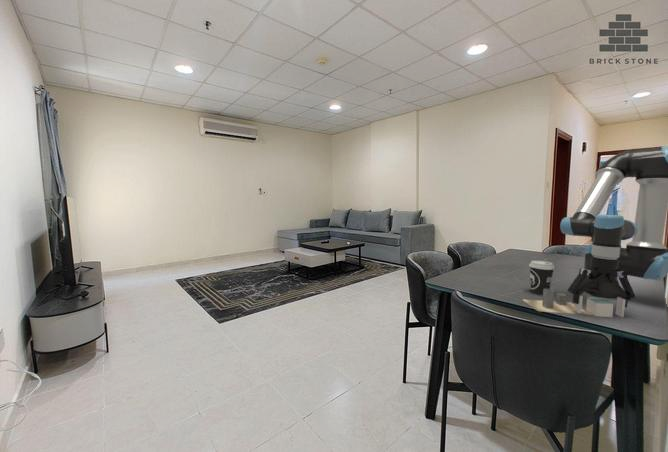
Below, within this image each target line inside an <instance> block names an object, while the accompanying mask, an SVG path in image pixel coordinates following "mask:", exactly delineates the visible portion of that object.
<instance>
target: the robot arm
mask: <svg viewBox="0 0 668 452" xmlns="http://www.w3.org/2000/svg"><path fill="white" fill-rule="evenodd" d="M594 177H595V179H594V180H593V182H592V184H591V185H590V188H589V189H588V191H587V192H586V194H585V195H584V197H583V200H581V202H580V203H579V205H578V207H577V209H576V210H575V212H574V214H573V215H572V216H568V217H567V216H566V217H562V219H561V221H560V224H559V225H560V226H559V228H560V231H561V233H562V234H564V235H567V236H572V237H586V238H592V242H591V243H590V244H588V245H586V247H585V253H584V266H583V268H580V269H579V272H578V274H577V276H576V277H575V279H573V282H572V283H571V284H570V286H569V287H568V289H567V292H568V293H571V294H573V295H572V302H573V303H572V304H574V305H575V307H574V311H576V312H577V313H580V314H579V315H582V314H581V309H583V308H582V306H583V295H582V294H584V293H587V294H589V295H591V296H595V297H599V298H609V299H610V298H612V299H616V306H615V307H616V308H615V315H617V316H618V317H621V318H624V316H625V309H626V308H627V307H628V302H629V301H630V300H632V299H635V298H636V294H635V292H634V290H633V287H632V286H631V283H630V281H629V279H628V276H629V277H634V278H639V279H640V278H642V279H643V280H654V281H659V280H663V279H664V278H665V277H666V276H667V275H668V247H667V246H665V245H664V243H663V242H664V241H663V240H664V232H665V226H666V219H667V214H668V146H659V147H649V148H641V149H629V150H625V151H621V152H619V153H617V154H615V155H613V156H612V157H610V158H609V159H607V160H606V161H605V162H603V164H601V166H600V167H599V168H598V169H597V170H596V172H595V175H594ZM626 178H635V182H636V183H637V184H638V185H639V189H638V196H637V197H638V198H637V203H636V211H635V217H634V222H633V221H632V220H628V219H625V218H624V216H622V215H621V214H620V215H619V214H616V215H615V214H601V212H602V211H603V209H604V207H605V205H606V204H607V202H608V201H609V199H610V197H611V195H612V194H613V192H614V190H615V188H616V187H617V185H619V184H620V183H621V182H623V180H624V179H626ZM630 239H632V240H631V241H629V242H628V243H627V244H626V248H625V247H622V245H621V244H622V241H626V240H630ZM619 282H620V283H619ZM620 284H621V285H620ZM621 286H622V287H621Z"/></svg>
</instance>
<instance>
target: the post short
mask: <svg viewBox="0 0 668 452" xmlns="http://www.w3.org/2000/svg"><path fill="white" fill-rule="evenodd" d="M555 301H556V303H557V304H558V305H567V302H568V295H567V294H565V293H562V292H561V293H560V292H555Z"/></svg>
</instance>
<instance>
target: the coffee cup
mask: <svg viewBox="0 0 668 452" xmlns="http://www.w3.org/2000/svg"><path fill="white" fill-rule="evenodd" d="M528 267H529V271H530V272H529V275H530V276H529V277H530V278H529V279H530V281H529V282H530V292H531V293H532V294H536V295H541V296H543V290H544V288H545V289H551V285H552V279H553V274H554V270H555V268H556V267H555V266H554V263H552V262H549V261H544V260H531V262H530V263H529V265H528Z"/></svg>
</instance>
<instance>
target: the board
mask: <svg viewBox="0 0 668 452" xmlns="http://www.w3.org/2000/svg"><path fill="white" fill-rule="evenodd" d="M521 300H522V301H523V302H524V303H526V304H527V305H529V306H530V307H531V308H533V310H535V311H537V312H542V313H543V312H544V313H557V314H559V313H560V314H573V315H586V316H593V314H591V313H589V312H587V311H586V309H585V310H584V309H583V308H582V309H581V314H580V313H577V312H576V311H574V307H575V303H572V302H569V301H567V305H558V304H557V303H556V300H554V305H553V308H545V307H544V306H542V303H543V300H540V299H539V300H537V299H525V298H524V299H521Z"/></svg>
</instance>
